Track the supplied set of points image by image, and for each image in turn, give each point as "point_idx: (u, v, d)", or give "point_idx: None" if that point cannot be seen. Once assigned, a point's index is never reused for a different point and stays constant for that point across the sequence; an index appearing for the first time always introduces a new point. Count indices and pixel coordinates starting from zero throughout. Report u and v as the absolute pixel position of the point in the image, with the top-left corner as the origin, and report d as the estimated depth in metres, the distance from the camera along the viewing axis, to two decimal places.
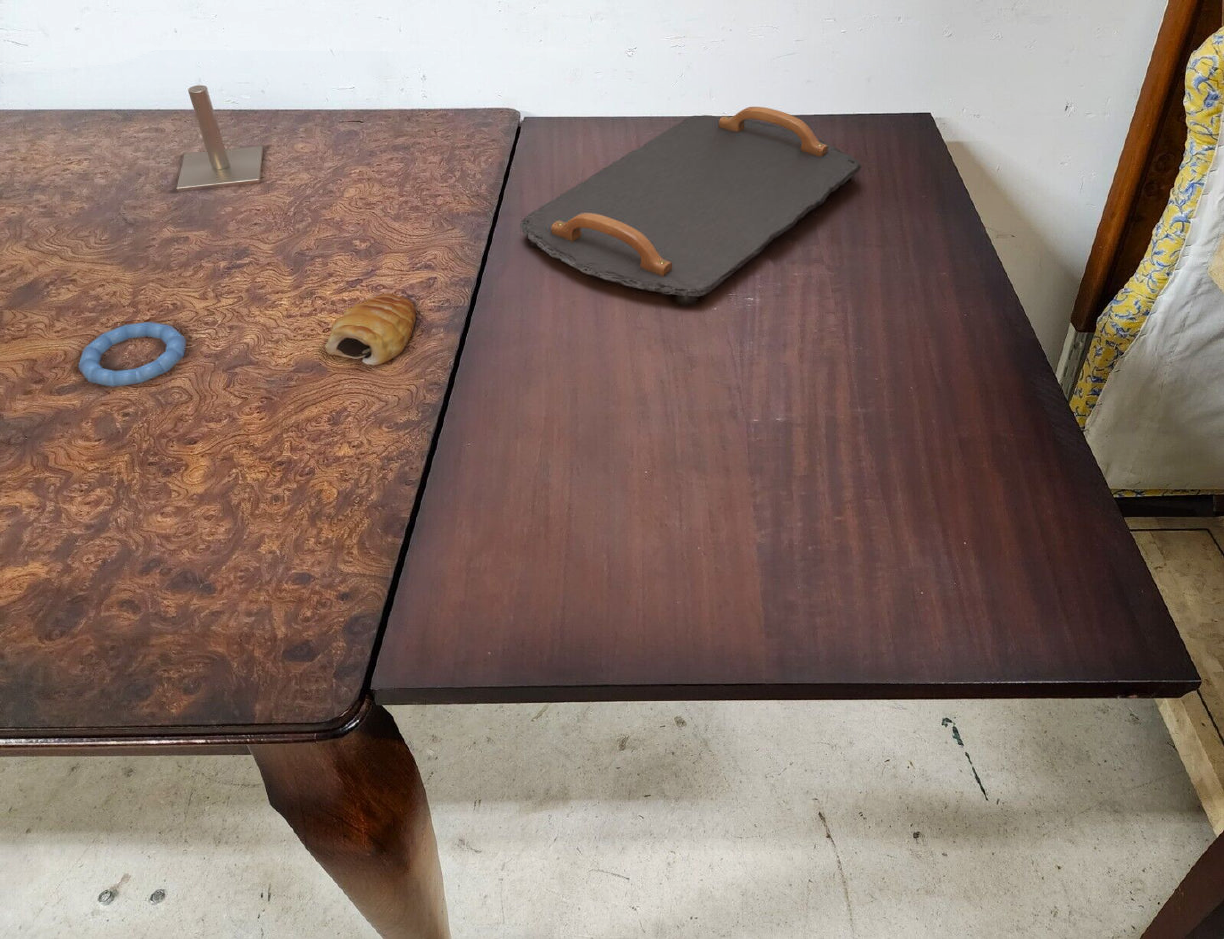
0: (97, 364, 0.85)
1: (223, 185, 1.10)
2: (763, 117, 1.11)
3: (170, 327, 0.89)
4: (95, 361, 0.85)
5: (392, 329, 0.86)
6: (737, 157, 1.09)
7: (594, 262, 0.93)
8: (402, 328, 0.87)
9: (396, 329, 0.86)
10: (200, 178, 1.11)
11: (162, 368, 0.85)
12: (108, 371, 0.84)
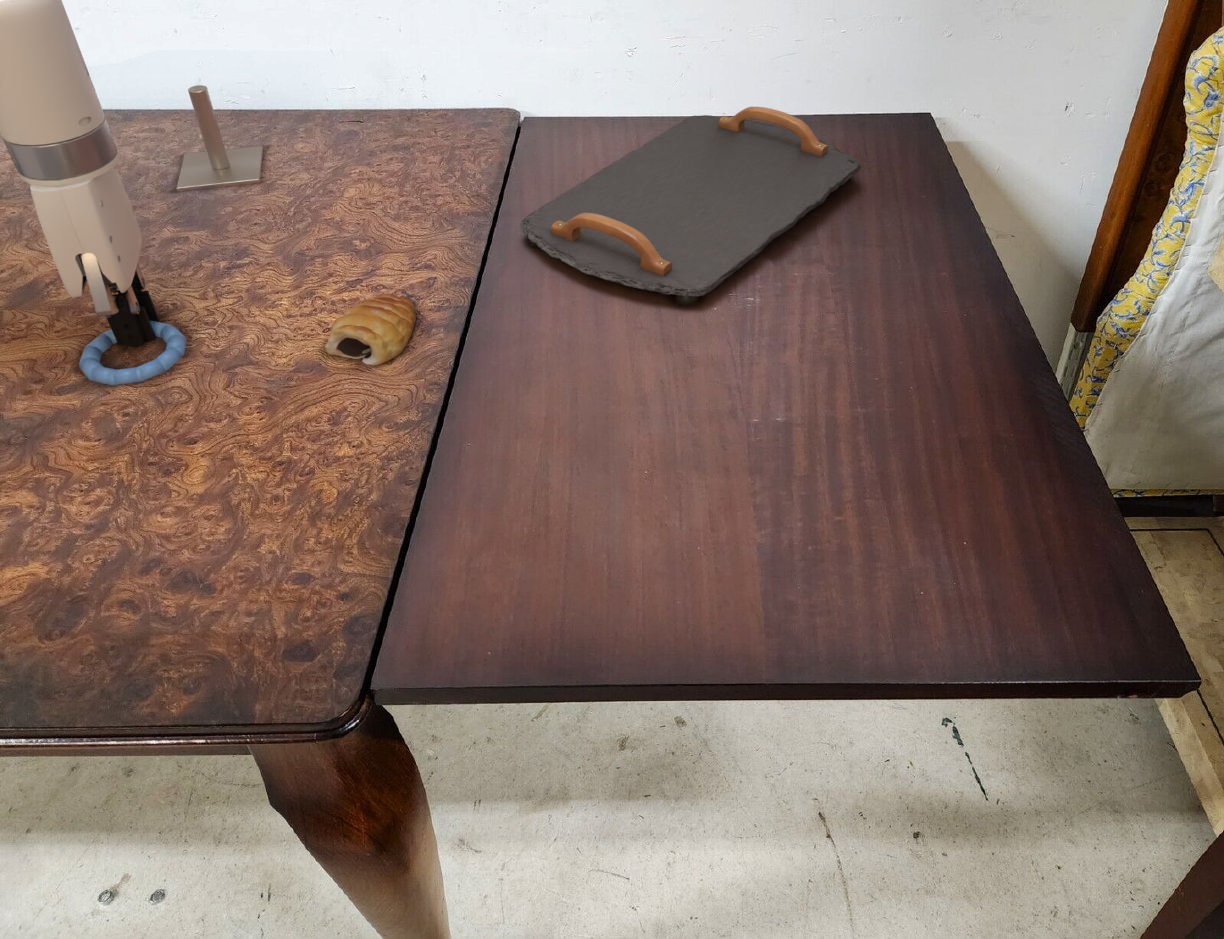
0: (98, 363, 0.85)
1: (223, 185, 1.10)
2: (763, 117, 1.11)
3: (170, 326, 0.89)
4: (96, 360, 0.85)
5: (392, 329, 0.86)
6: (737, 157, 1.09)
7: (594, 262, 0.93)
8: (402, 328, 0.87)
9: (396, 329, 0.86)
10: (200, 178, 1.11)
11: (163, 367, 0.85)
12: (108, 369, 0.84)
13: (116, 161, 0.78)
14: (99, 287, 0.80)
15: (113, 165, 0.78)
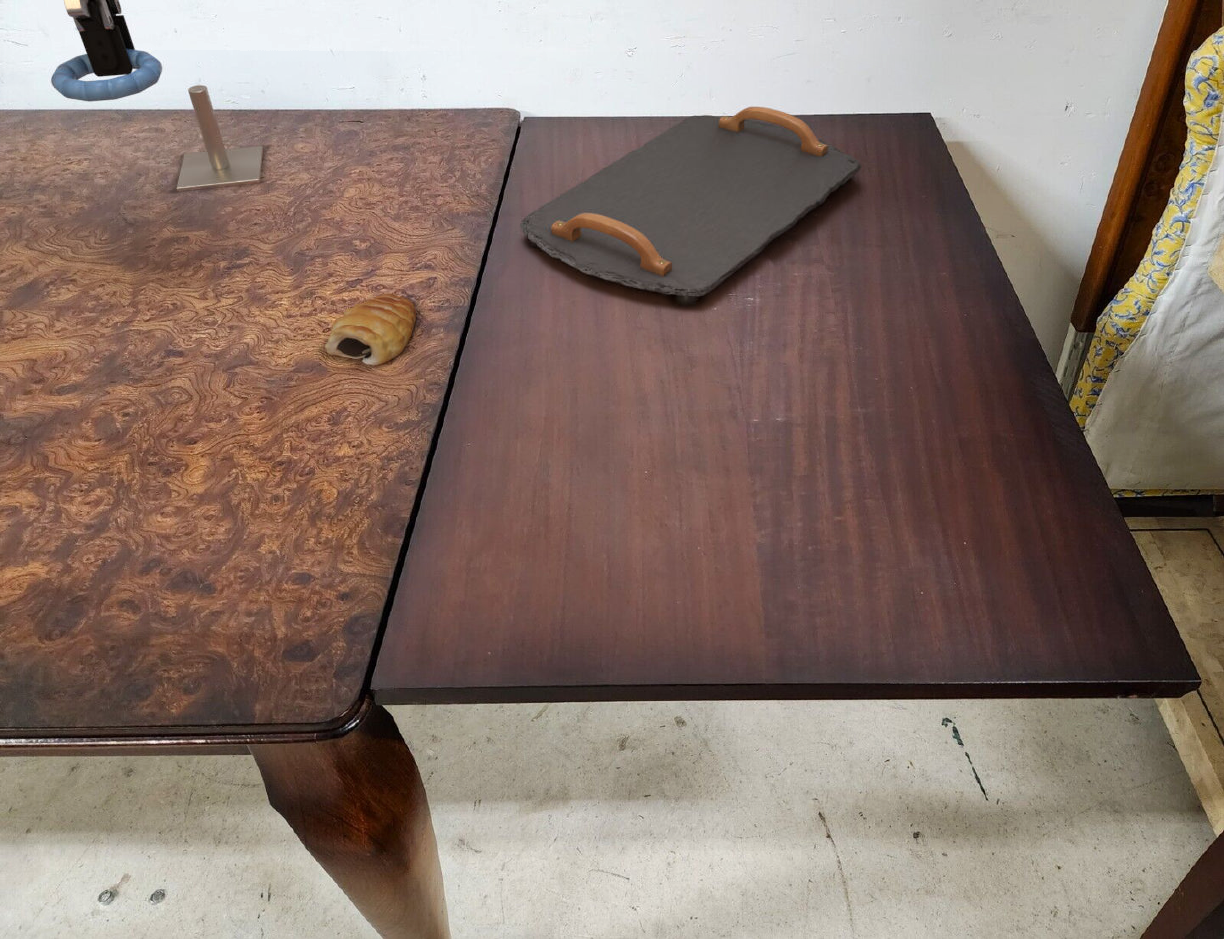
0: (70, 77, 0.83)
1: (223, 185, 1.10)
2: (763, 117, 1.11)
3: (146, 52, 0.87)
4: (68, 75, 0.84)
5: (392, 329, 0.86)
6: (737, 157, 1.09)
7: (594, 262, 0.93)
8: (402, 328, 0.87)
9: (396, 329, 0.86)
10: (200, 178, 1.11)
11: (135, 82, 0.83)
12: (80, 80, 0.82)
13: None
14: None
15: None
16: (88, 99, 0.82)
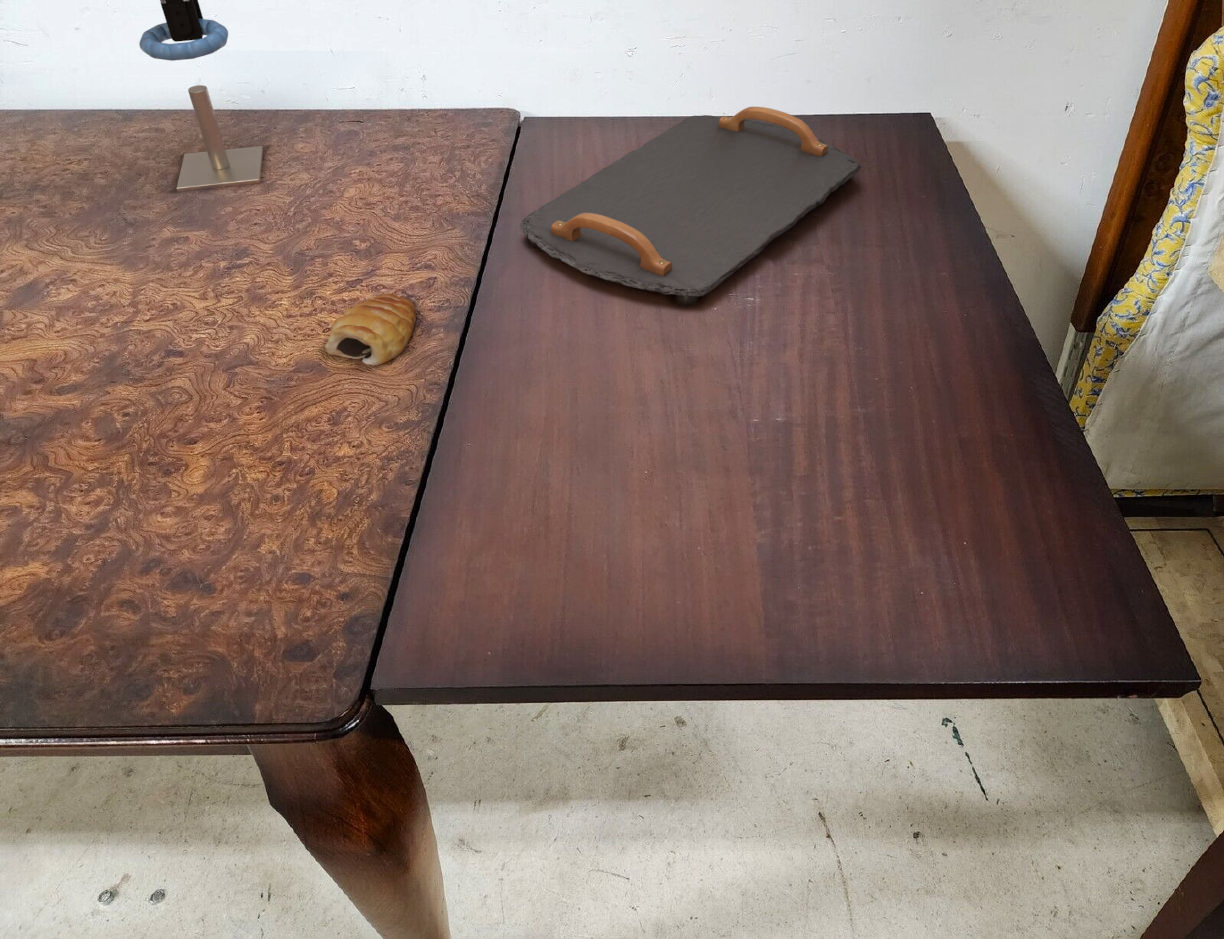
0: (155, 41, 1.02)
1: (223, 185, 1.10)
2: (763, 117, 1.11)
3: (214, 21, 1.05)
4: (153, 39, 1.02)
5: (392, 329, 0.86)
6: (737, 157, 1.09)
7: (594, 262, 0.93)
8: (402, 328, 0.87)
9: (396, 329, 0.86)
10: (200, 178, 1.11)
11: (209, 44, 1.02)
12: (164, 43, 1.01)
13: None
14: None
15: None
16: (171, 58, 1.01)
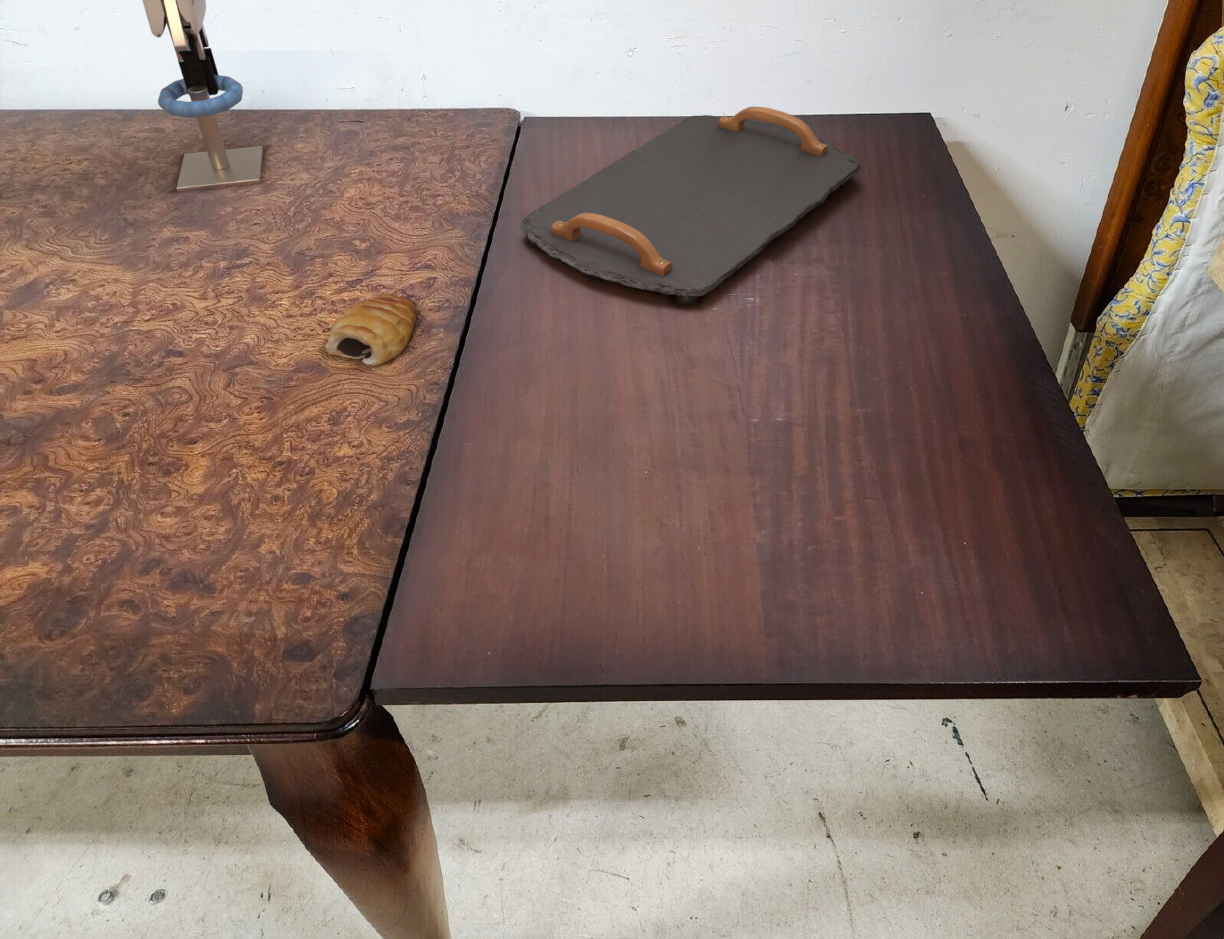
0: (173, 98, 1.06)
1: (223, 185, 1.10)
2: (763, 117, 1.11)
3: (229, 77, 1.09)
4: (171, 97, 1.06)
5: (392, 329, 0.86)
6: (737, 157, 1.09)
7: (594, 261, 0.93)
8: (402, 328, 0.87)
9: (396, 329, 0.86)
10: (200, 178, 1.11)
11: (225, 101, 1.06)
12: (182, 101, 1.05)
13: None
14: (177, 25, 1.01)
15: None
16: (189, 116, 1.05)
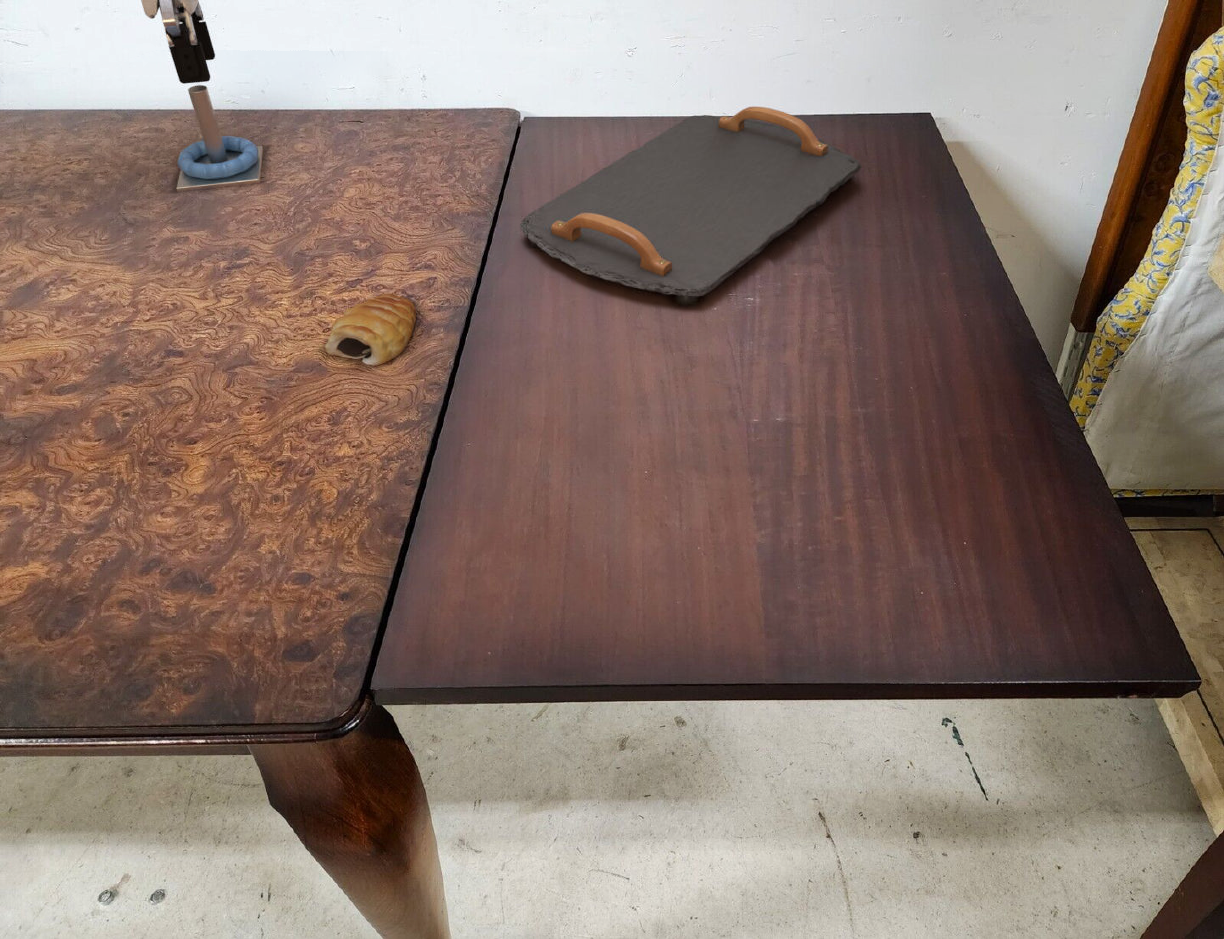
0: (192, 160, 1.11)
1: (223, 185, 1.10)
2: (763, 117, 1.11)
3: (245, 139, 1.15)
4: (190, 159, 1.11)
5: (392, 329, 0.86)
6: (737, 157, 1.09)
7: (594, 261, 0.93)
8: (402, 328, 0.87)
9: (396, 329, 0.86)
10: (200, 178, 1.11)
11: (242, 163, 1.11)
12: (201, 164, 1.10)
13: None
14: (167, 0, 0.98)
15: None
16: (207, 177, 1.10)
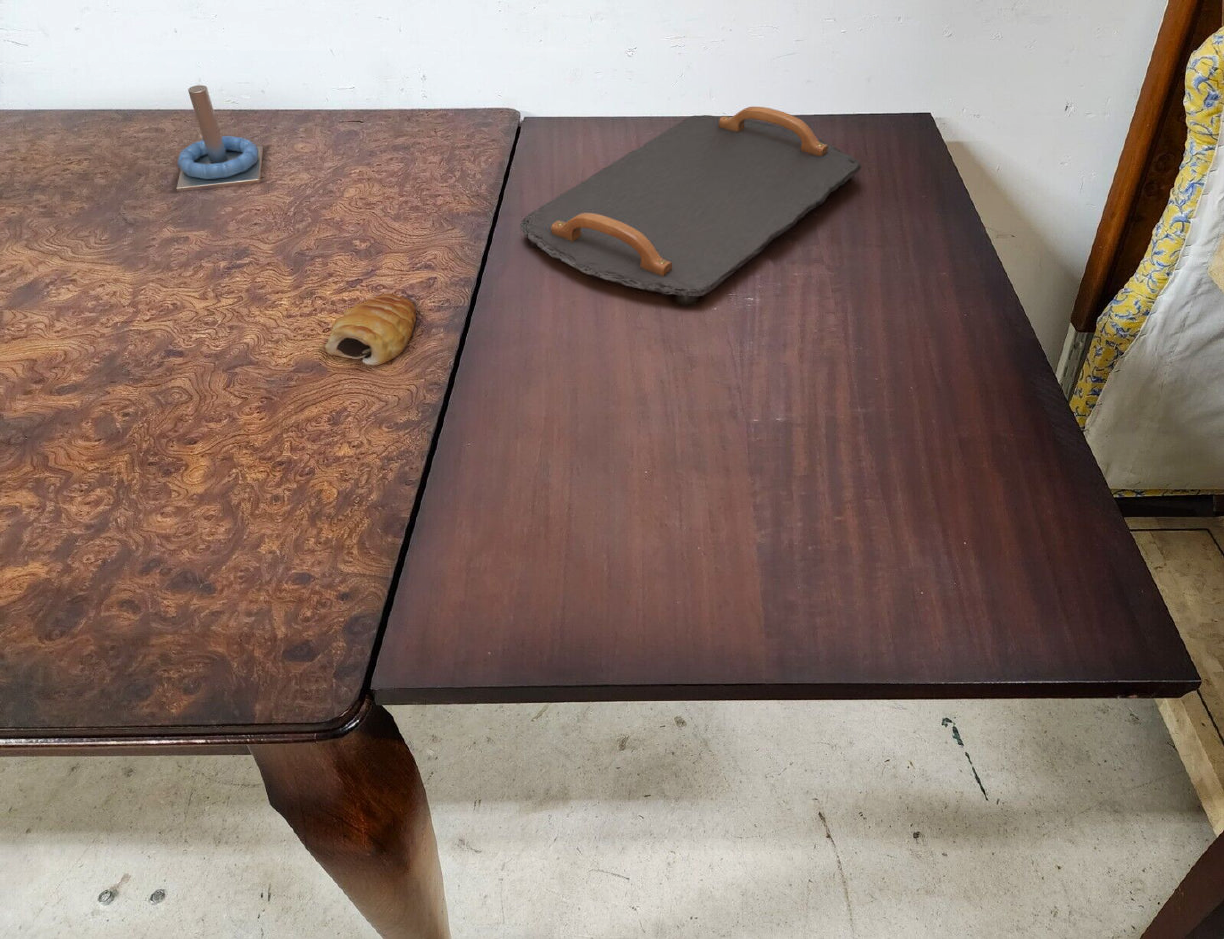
0: (192, 160, 1.11)
1: (223, 185, 1.10)
2: (763, 117, 1.11)
3: (245, 139, 1.15)
4: (190, 159, 1.11)
5: (392, 329, 0.86)
6: (737, 157, 1.09)
7: (594, 261, 0.93)
8: (402, 329, 0.87)
9: (396, 329, 0.86)
10: (200, 178, 1.11)
11: (242, 163, 1.11)
12: (201, 164, 1.10)
13: None
14: None
15: None
16: (207, 177, 1.10)
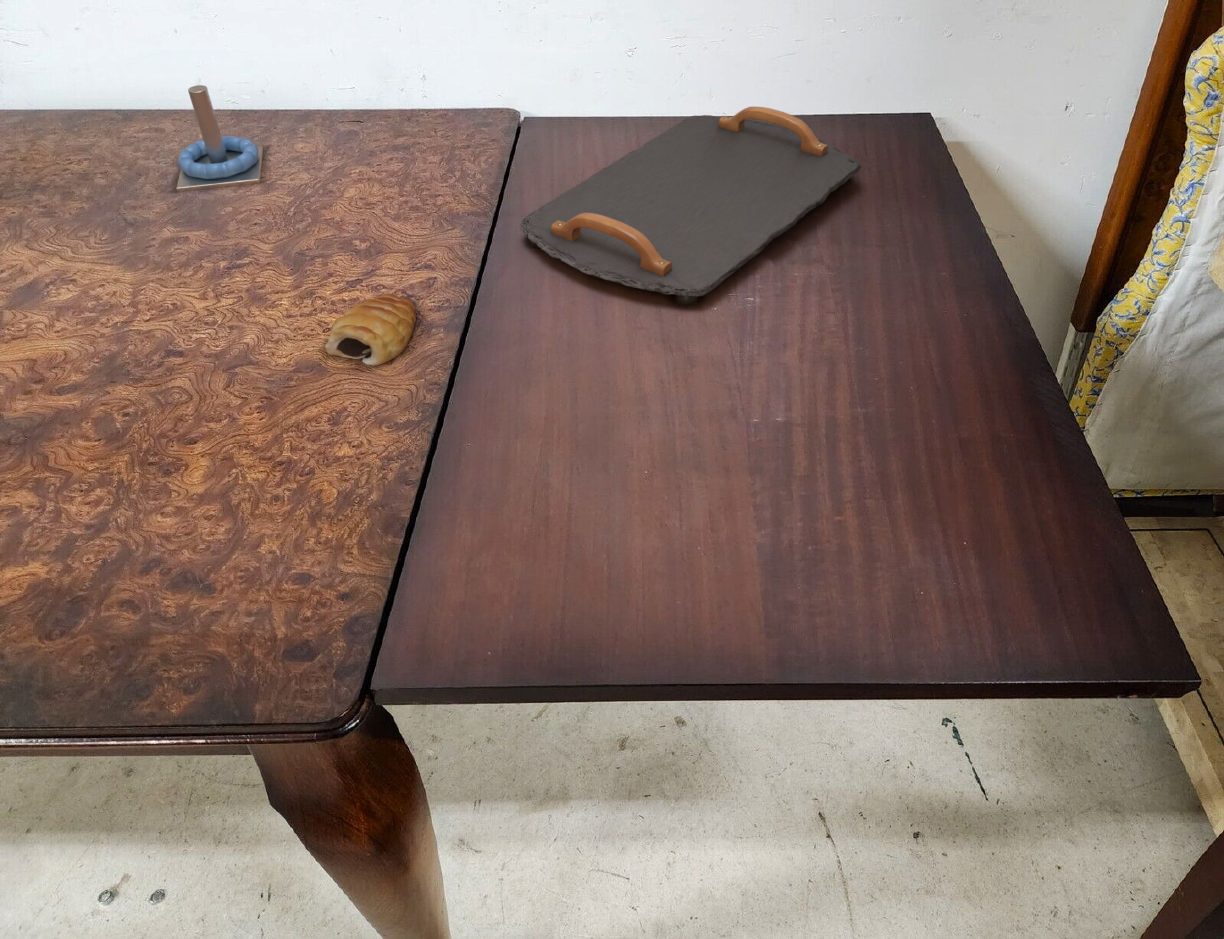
0: (192, 160, 1.11)
1: (223, 185, 1.10)
2: (763, 117, 1.11)
3: (245, 139, 1.15)
4: (190, 159, 1.11)
5: (392, 329, 0.86)
6: (737, 157, 1.09)
7: (594, 261, 0.93)
8: (402, 329, 0.87)
9: (396, 329, 0.86)
10: (200, 178, 1.11)
11: (242, 163, 1.11)
12: (201, 164, 1.10)
13: None
14: None
15: None
16: (207, 177, 1.10)
